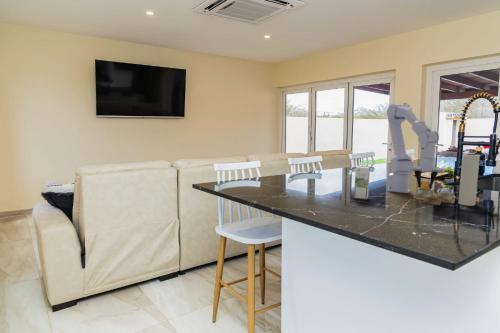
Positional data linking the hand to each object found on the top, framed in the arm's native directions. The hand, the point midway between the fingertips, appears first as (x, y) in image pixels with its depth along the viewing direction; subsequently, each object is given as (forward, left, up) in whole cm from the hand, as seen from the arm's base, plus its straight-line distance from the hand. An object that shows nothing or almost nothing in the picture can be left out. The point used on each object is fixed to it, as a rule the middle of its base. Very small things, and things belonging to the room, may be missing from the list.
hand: (424, 187), depth 157 cm
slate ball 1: (0, +5, -2) cm, 5 cm away
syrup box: (-24, -16, -5) cm, 30 cm away
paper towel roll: (+17, -3, -5) cm, 18 cm away
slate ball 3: (+8, +5, -2) cm, 10 cm away
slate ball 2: (+8, 0, -2) cm, 8 cm away
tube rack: (+4, +2, -5) cm, 7 cm away
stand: (+4, -8, -5) cm, 11 cm away
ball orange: (0, 0, +1) cm, 1 cm away
